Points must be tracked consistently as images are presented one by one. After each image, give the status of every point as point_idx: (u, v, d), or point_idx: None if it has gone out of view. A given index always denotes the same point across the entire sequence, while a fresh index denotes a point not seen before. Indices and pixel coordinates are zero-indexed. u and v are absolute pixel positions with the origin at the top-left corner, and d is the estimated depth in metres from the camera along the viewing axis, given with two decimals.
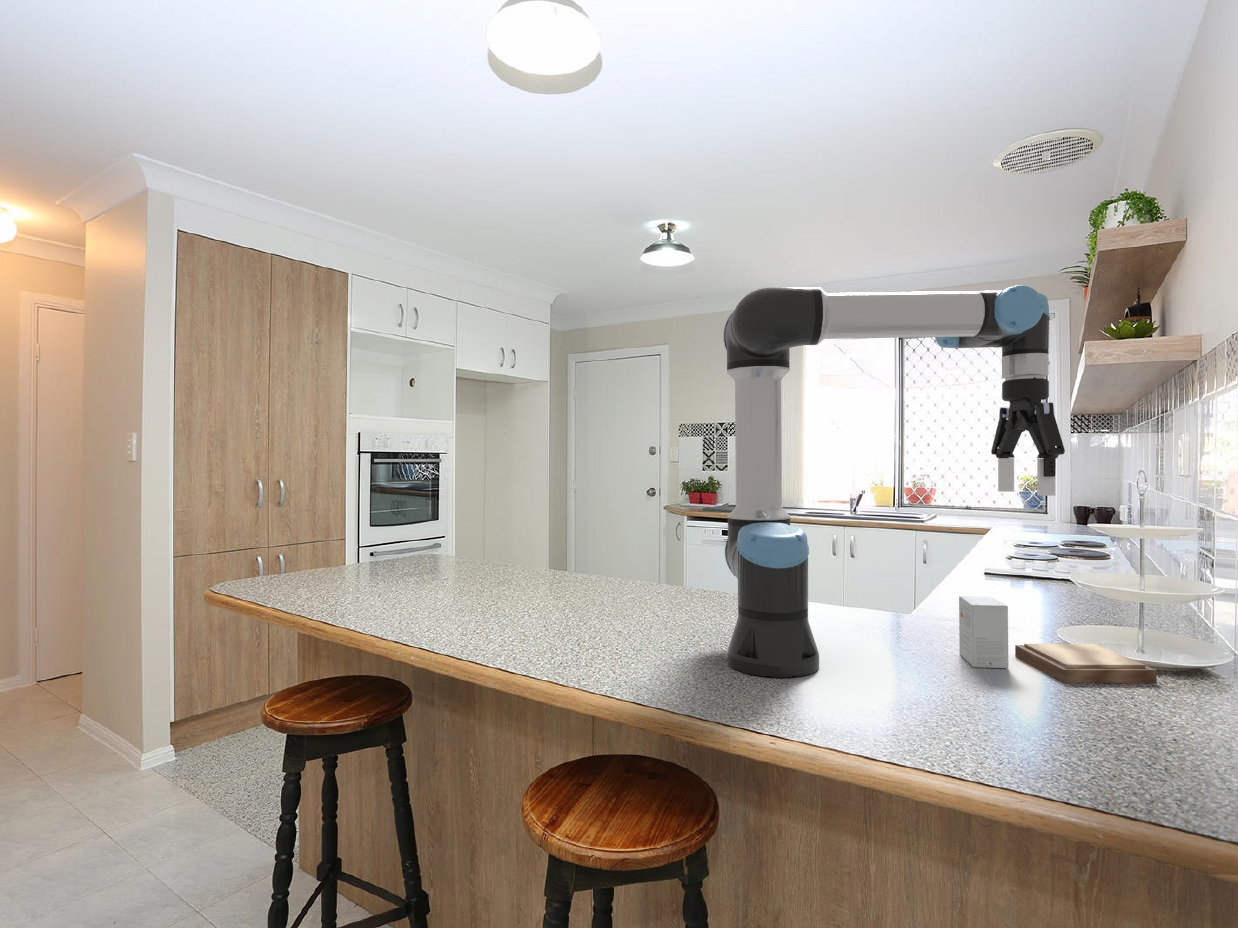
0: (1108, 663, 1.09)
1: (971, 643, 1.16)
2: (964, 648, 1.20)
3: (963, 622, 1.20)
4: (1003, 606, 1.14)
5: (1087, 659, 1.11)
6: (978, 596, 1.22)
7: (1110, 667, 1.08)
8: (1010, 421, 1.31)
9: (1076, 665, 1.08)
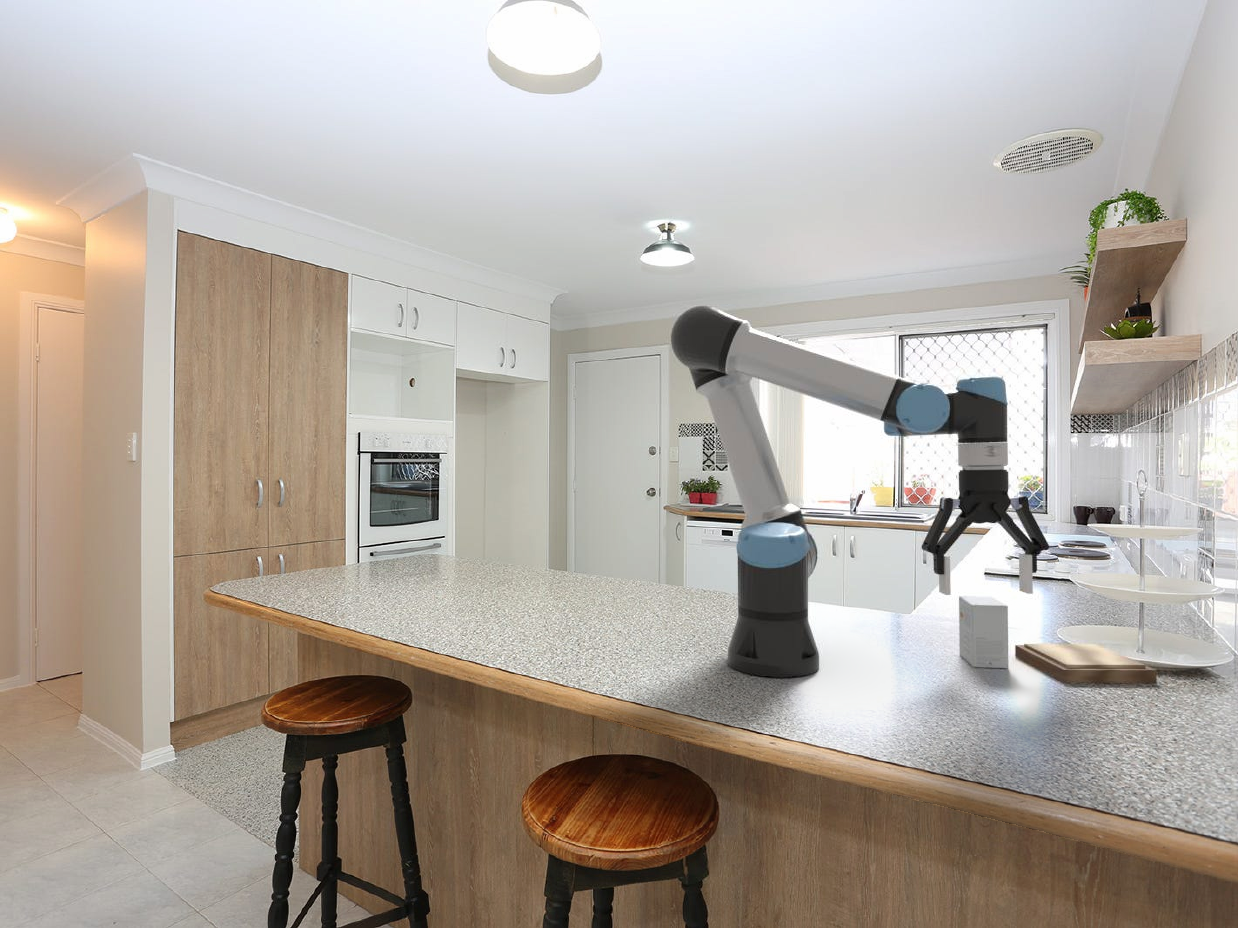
0: (1108, 663, 1.09)
1: (971, 643, 1.16)
2: (964, 648, 1.20)
3: (963, 622, 1.20)
4: (1003, 606, 1.14)
5: (1087, 659, 1.11)
6: (978, 596, 1.22)
7: (1110, 667, 1.08)
8: None
9: (1076, 665, 1.08)
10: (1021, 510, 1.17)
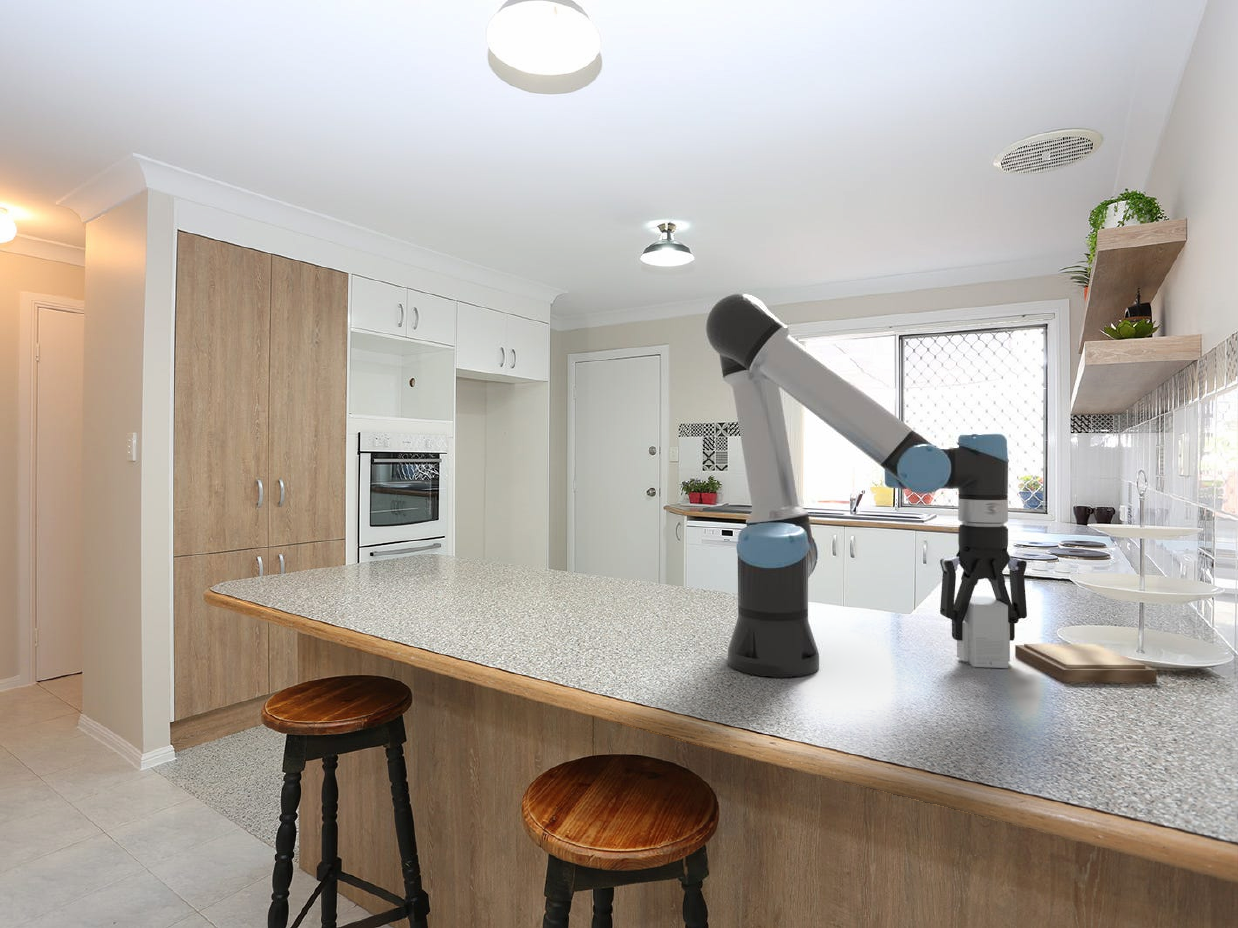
0: (1108, 663, 1.09)
1: (971, 642, 1.16)
2: None
3: None
4: (1003, 606, 1.14)
5: (1087, 659, 1.11)
6: (978, 596, 1.22)
7: (1110, 667, 1.08)
8: None
9: (1076, 665, 1.08)
10: (1016, 573, 1.17)
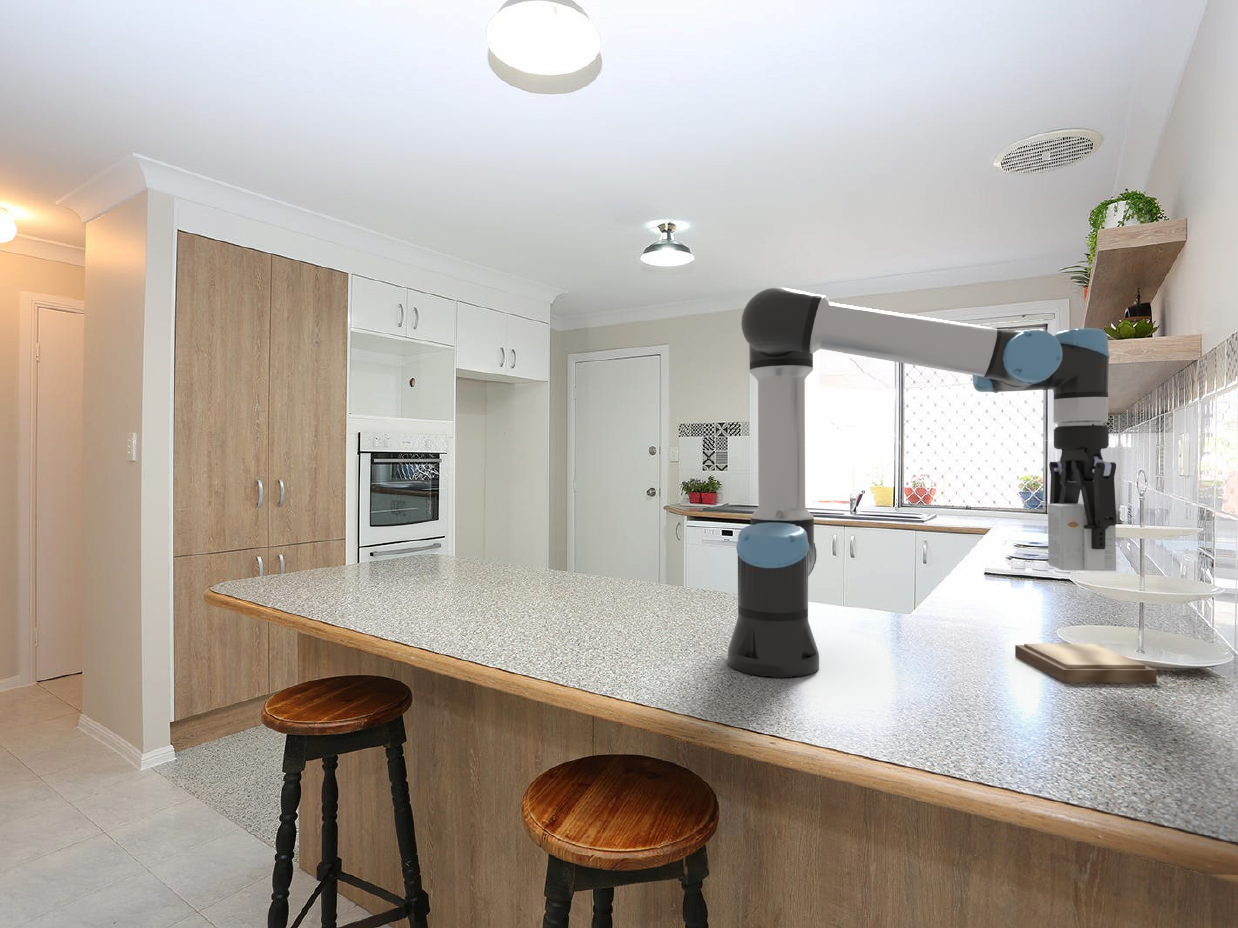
0: (1108, 663, 1.09)
1: (1112, 546, 1.11)
2: None
3: (1080, 531, 1.11)
4: None
5: (1087, 659, 1.11)
6: (1054, 504, 1.15)
7: (1110, 667, 1.08)
8: (1065, 473, 1.15)
9: (1076, 665, 1.08)
10: None
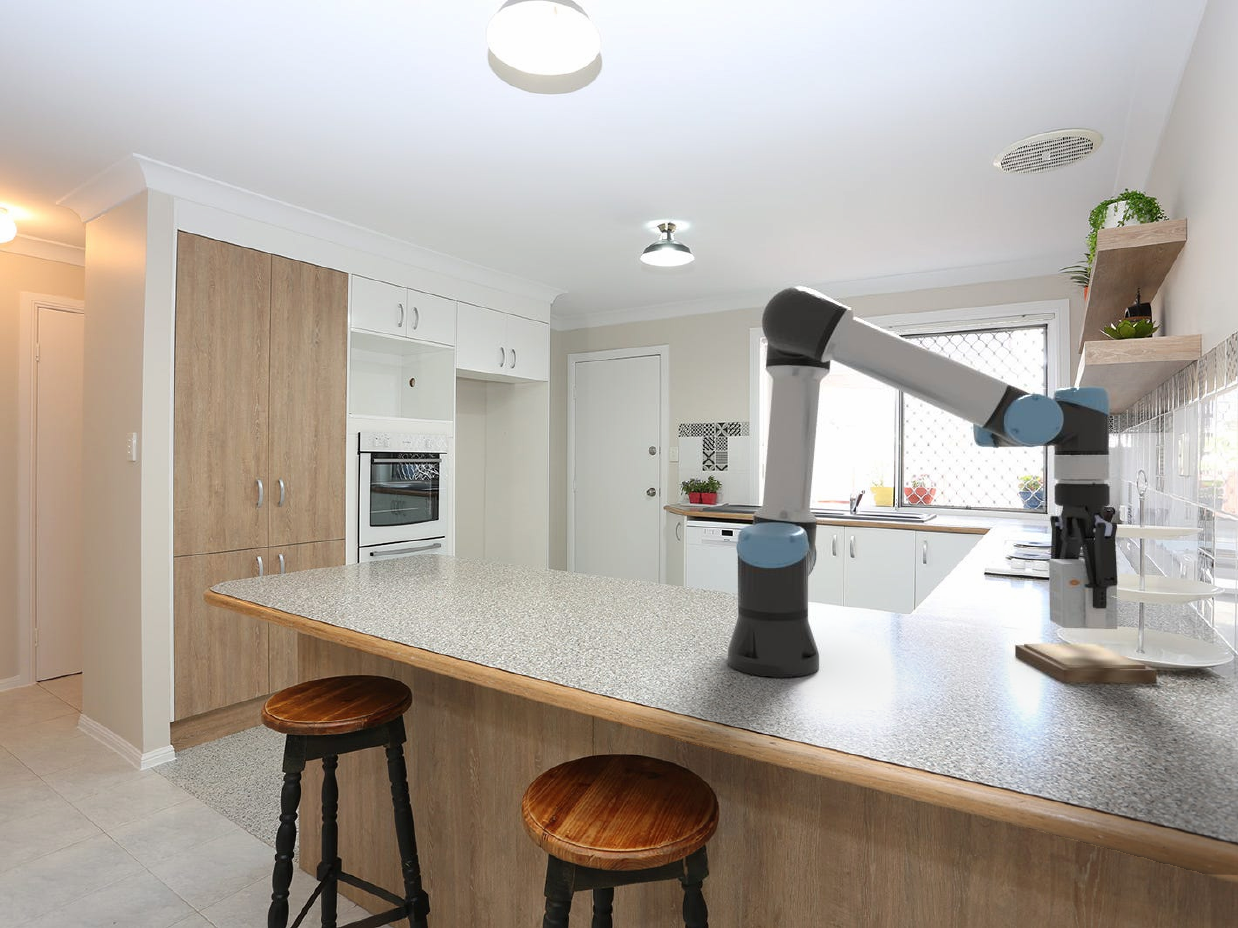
0: (1108, 663, 1.09)
1: (1113, 605, 1.11)
2: None
3: (1081, 589, 1.12)
4: None
5: (1087, 659, 1.11)
6: (1056, 560, 1.15)
7: (1110, 667, 1.08)
8: (1066, 529, 1.15)
9: (1076, 665, 1.08)
10: None
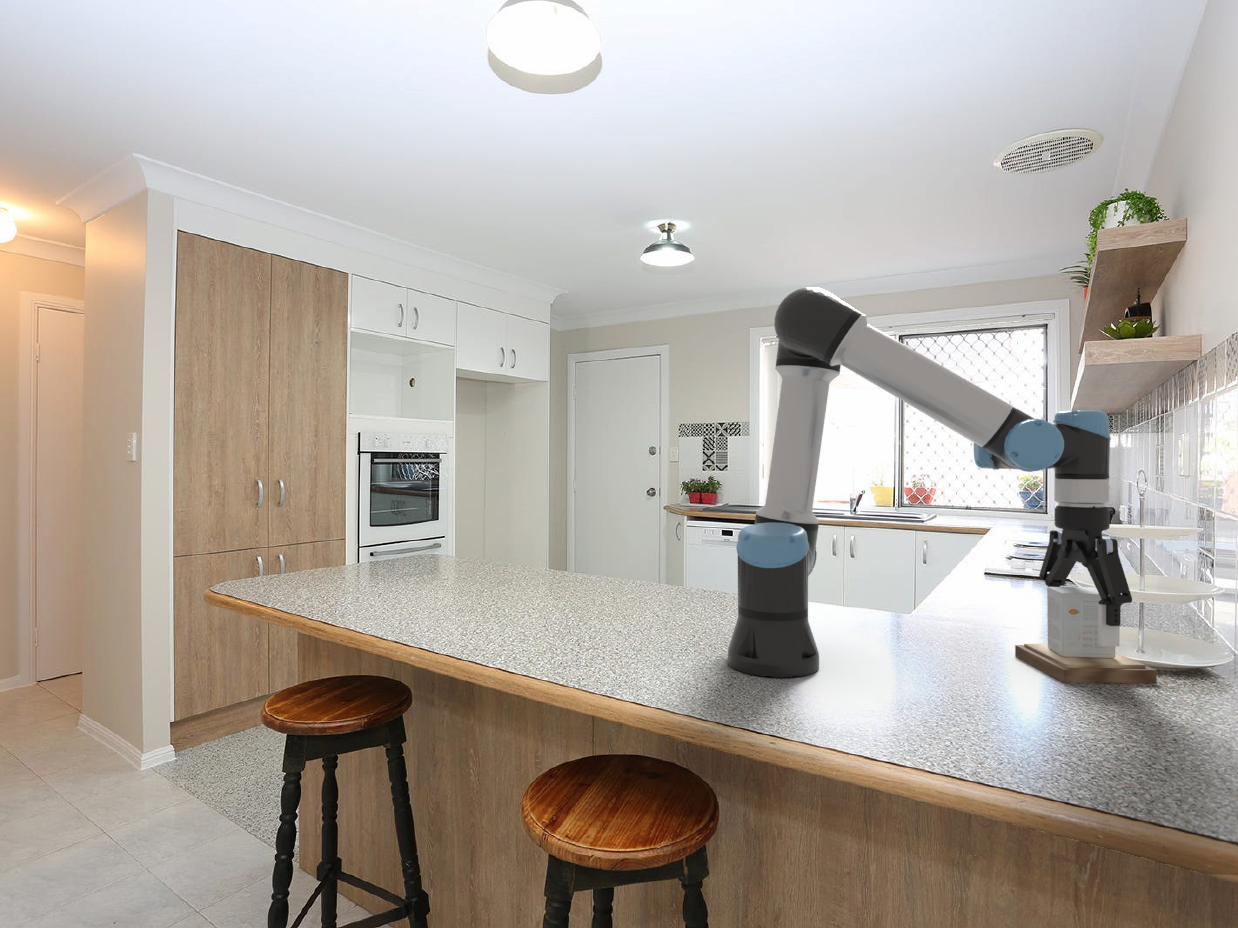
0: (1108, 663, 1.09)
1: None
2: (1085, 645, 1.12)
3: (1080, 618, 1.12)
4: None
5: (1087, 659, 1.11)
6: (1054, 589, 1.15)
7: (1110, 667, 1.08)
8: (1064, 550, 1.16)
9: (1076, 665, 1.08)
10: None
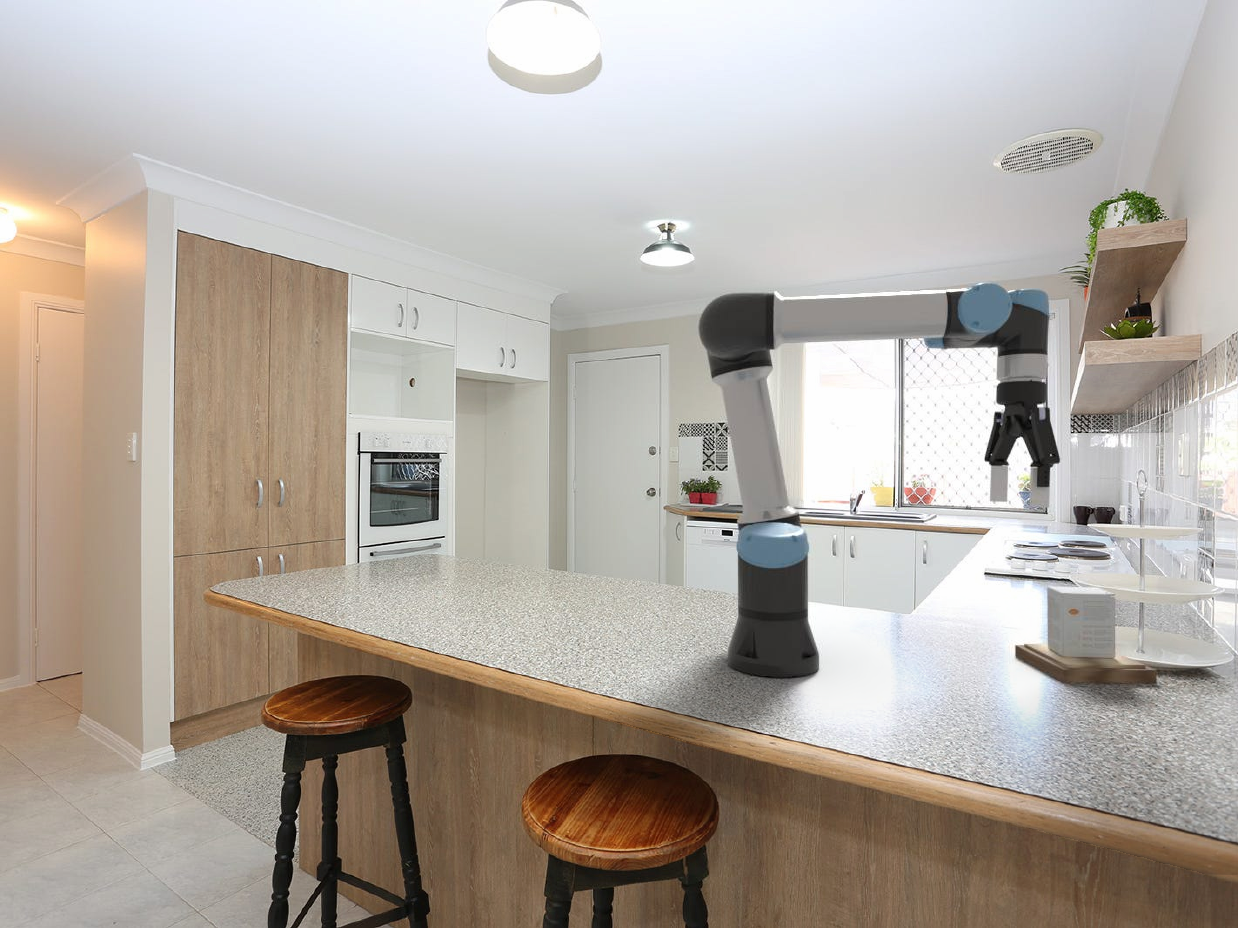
0: (1108, 663, 1.09)
1: (1112, 634, 1.11)
2: (1085, 645, 1.12)
3: (1080, 618, 1.12)
4: None
5: (1087, 659, 1.11)
6: (1054, 589, 1.15)
7: (1110, 667, 1.08)
8: (1004, 426, 1.22)
9: (1076, 665, 1.08)
10: None
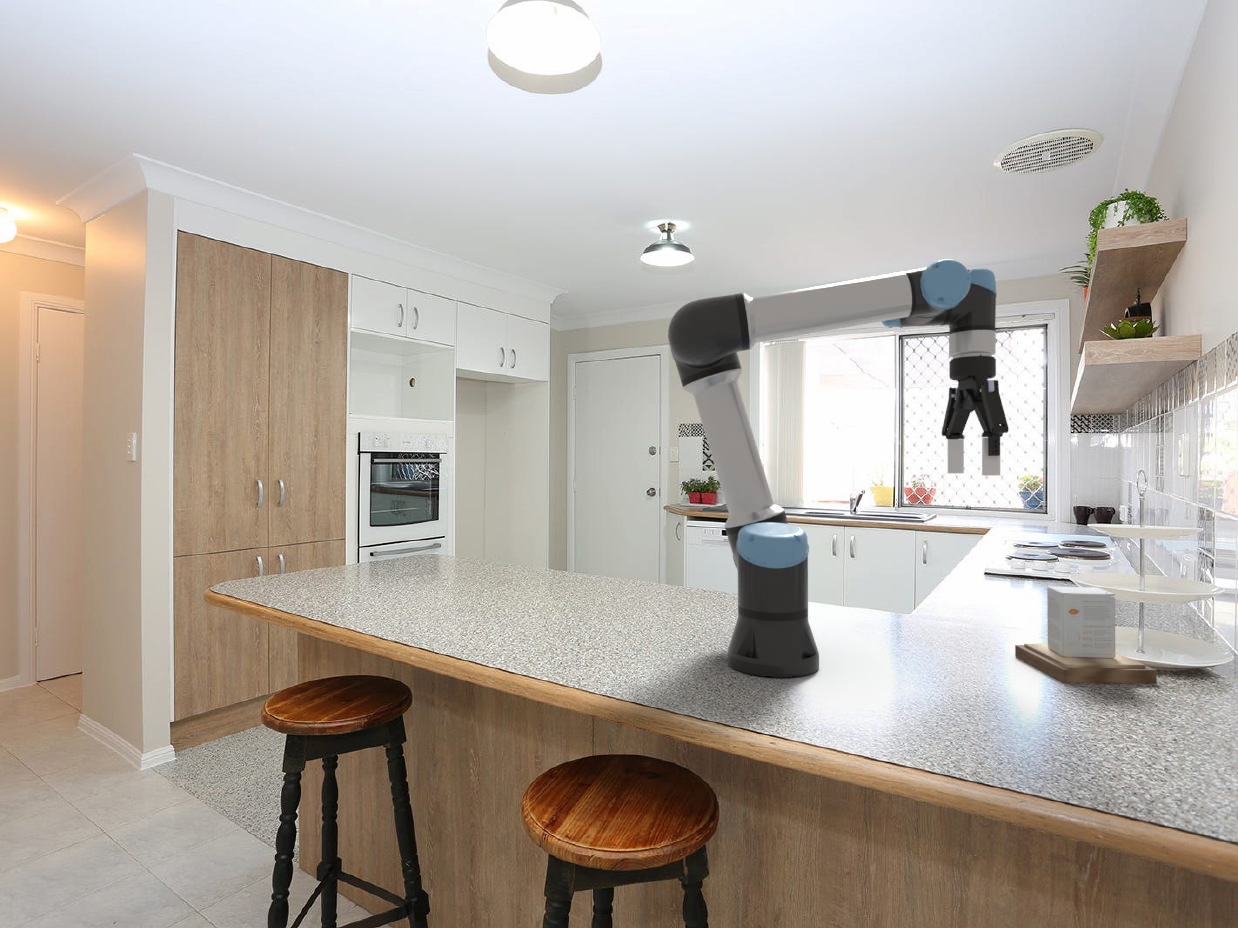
0: (1108, 663, 1.09)
1: (1112, 634, 1.11)
2: (1085, 645, 1.12)
3: (1080, 618, 1.12)
4: None
5: (1087, 659, 1.11)
6: (1054, 589, 1.15)
7: (1110, 667, 1.08)
8: (958, 401, 1.28)
9: (1076, 665, 1.08)
10: None
